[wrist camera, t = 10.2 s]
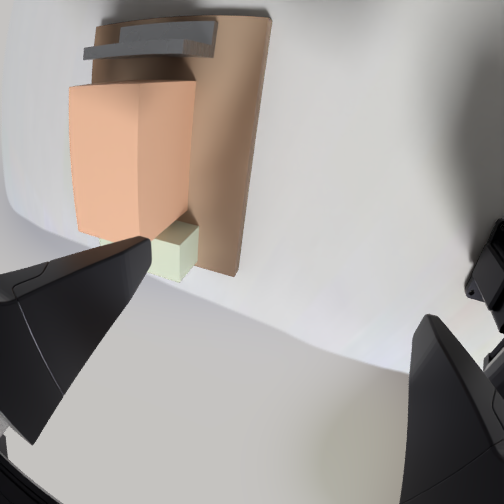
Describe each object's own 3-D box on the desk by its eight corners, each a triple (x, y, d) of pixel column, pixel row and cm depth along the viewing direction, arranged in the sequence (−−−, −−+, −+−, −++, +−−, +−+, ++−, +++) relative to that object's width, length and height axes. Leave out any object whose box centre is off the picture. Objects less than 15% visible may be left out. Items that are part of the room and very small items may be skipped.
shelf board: (272, 20, 15) (268, 17, 14) (238, 269, 25) (233, 277, 24) (104, 27, 17) (96, 26, 17) (104, 231, 27) (98, 236, 26)
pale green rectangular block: (199, 226, 22) (179, 245, 20) (197, 261, 24) (179, 283, 21) (121, 206, 24) (97, 222, 21) (123, 239, 25) (101, 256, 23)
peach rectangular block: (196, 81, 17) (139, 83, 12) (187, 210, 22) (140, 250, 17) (132, 79, 18) (69, 87, 13) (130, 197, 23) (78, 231, 18)
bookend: (218, 22, 15) (187, 10, 12) (213, 58, 16) (182, 53, 13) (125, 27, 16) (86, 24, 13) (122, 59, 18) (83, 60, 14)
